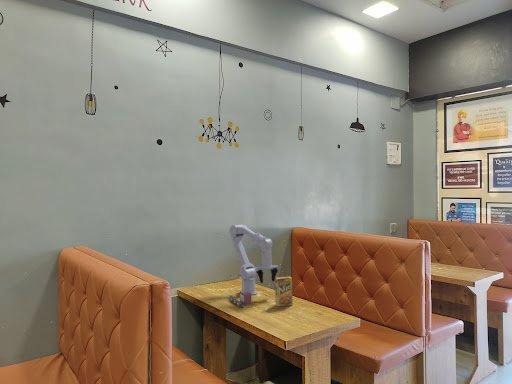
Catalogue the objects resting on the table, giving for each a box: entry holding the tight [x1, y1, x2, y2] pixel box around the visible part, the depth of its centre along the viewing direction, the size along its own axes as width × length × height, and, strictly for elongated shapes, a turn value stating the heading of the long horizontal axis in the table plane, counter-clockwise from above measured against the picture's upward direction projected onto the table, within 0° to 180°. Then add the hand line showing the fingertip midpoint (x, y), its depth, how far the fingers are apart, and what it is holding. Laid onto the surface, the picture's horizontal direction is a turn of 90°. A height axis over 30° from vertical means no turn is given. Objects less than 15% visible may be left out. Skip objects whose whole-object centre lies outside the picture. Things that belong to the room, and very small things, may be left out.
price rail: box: [229, 295, 244, 309], centre depth 205 cm, size 18×2×2 cm, turn 24°
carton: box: [239, 290, 253, 306], centre depth 206 cm, size 4×8×6 cm, turn 24°
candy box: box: [274, 275, 294, 307], centre depth 200 cm, size 9×4×15 cm, turn 107°
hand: (267, 281), depth 215 cm, fingers open, 7 cm apart
